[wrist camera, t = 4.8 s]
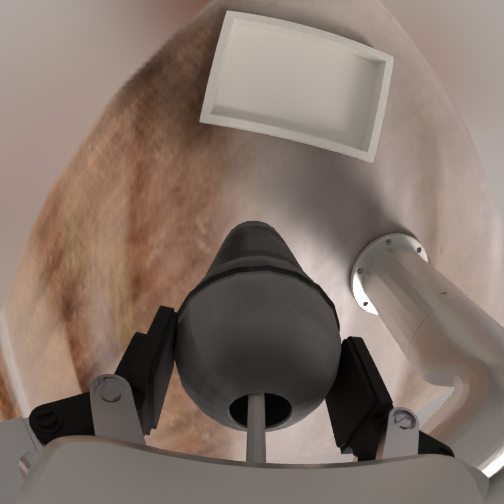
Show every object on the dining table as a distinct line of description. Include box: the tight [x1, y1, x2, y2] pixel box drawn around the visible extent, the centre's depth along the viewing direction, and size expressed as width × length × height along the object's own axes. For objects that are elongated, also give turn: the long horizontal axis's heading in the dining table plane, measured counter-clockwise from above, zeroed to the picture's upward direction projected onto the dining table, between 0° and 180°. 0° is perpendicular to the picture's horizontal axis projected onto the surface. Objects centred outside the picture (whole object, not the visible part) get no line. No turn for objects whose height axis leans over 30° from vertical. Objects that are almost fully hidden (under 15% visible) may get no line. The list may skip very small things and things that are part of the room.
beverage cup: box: [174, 221, 341, 463], centre depth 14 cm, size 7×7×20 cm
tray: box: [199, 10, 394, 163], centre depth 29 cm, size 20×14×3 cm
